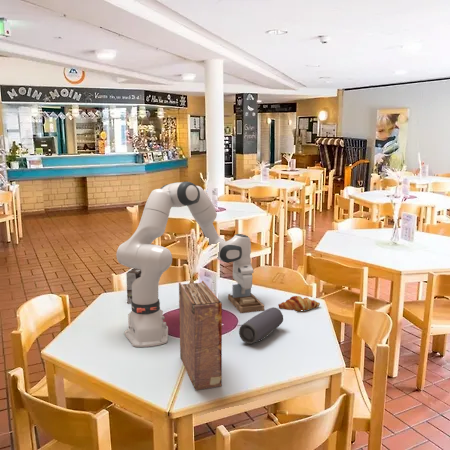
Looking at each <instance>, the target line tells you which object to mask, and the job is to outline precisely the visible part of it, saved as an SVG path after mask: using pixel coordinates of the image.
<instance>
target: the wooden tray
mask: <svg viewBox="0 0 450 450" xmlns="http://www.w3.org/2000/svg"><path fill="white" fill-rule="evenodd" d="M232 295H233V294H230V293H229V294H227V299H228V301H229V302H230V303H231V304H232V306H234V308H236V310H237V311H238V312H239V313H240V314H244V313H252V312H253V313H254V312H255V313H256V312H263V311H265V305H264V303H262V302H261V300H259V298H257V297H256V296H255V295H254V294H253V293H252V292H251V296H246V297H236V298H233V297H232ZM247 297H252V298H253V299H255V303H247V304H239V302H240V298H247Z"/></svg>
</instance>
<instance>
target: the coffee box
mask: <svg viewBox="0 0 450 450" xmlns="http://www.w3.org/2000/svg"><path fill="white" fill-rule="evenodd" d="M125 275H126V297H127V299H126V300H127V304H131V301H132V284H133V282H134V281H135V280H136V279H137V278H139V277H141V269H136V268H131V269H130V270H129V271H127V272H126V273H125Z"/></svg>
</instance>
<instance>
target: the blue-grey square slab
mask: <svg viewBox="0 0 450 450" xmlns="http://www.w3.org/2000/svg"><path fill="white" fill-rule="evenodd" d="M241 289H242V288H241V285H240V284H232V294H231V295H232V297H233V298H236V297H246V296H251V293H252V288H251V289H246V290H245V294H241Z"/></svg>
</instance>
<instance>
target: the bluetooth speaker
mask: <svg viewBox="0 0 450 450" xmlns="http://www.w3.org/2000/svg"><path fill="white" fill-rule="evenodd" d="M283 322H284V315H283V312H282V311H281V310H280V308H279V307H275V306H274V307H270V308H268V309H264V311H260V312H258V314H256V315H253V317H251V318H250V319H248V320H246V321H245V322H244V323H243V324H241V326H240V327H239V330H238V334H239V338H240V339H241V341H243V342H244V343H245V344H249V345H251V344H254V343H257V342H260V341H262V340H263V338H264V337H265V338H266V337H268V336H269V335H270V334H271V333H273V331H275V330H276V329H277V328H278V327H279V326H281V325H282V324H283ZM267 335H268V336H267ZM265 338H264V339H265ZM261 339H262V340H261ZM259 340H260V341H259Z"/></svg>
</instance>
